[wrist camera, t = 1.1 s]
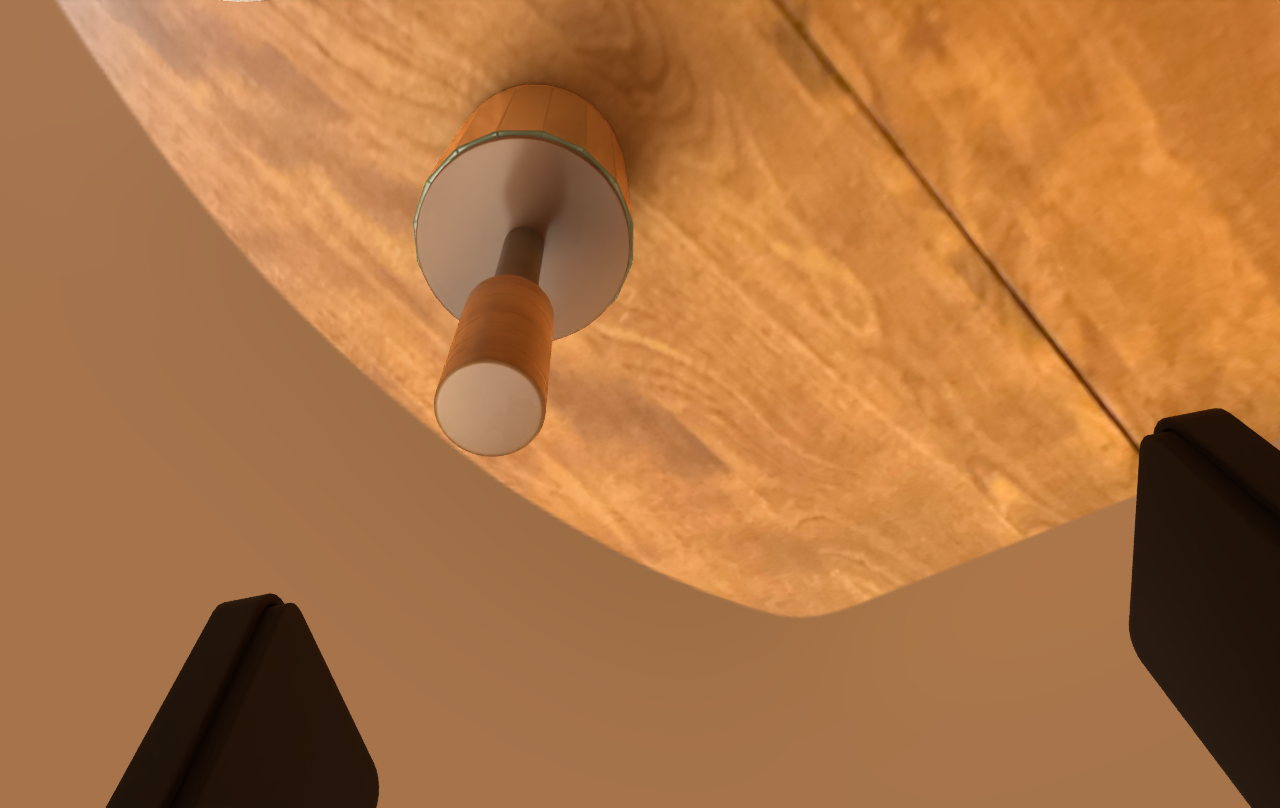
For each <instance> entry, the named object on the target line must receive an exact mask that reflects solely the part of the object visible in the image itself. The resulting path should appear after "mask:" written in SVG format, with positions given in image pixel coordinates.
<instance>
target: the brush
mask: <svg viewBox="0 0 1280 808" xmlns="http://www.w3.org/2000/svg"><path fill="white" fill-rule="evenodd" d="M416 247H417V253H418V259H419V262H420V266H421V269H422V272H423V274H424V276H425V279H426V281H427V283H428V285H429V287H430V288H431V290H432V291H433V293H434V295H435V296H436V298H437V299H438V300H439V301H440V302H441V304H442V305H443V306H444V307H445V308H446V309H447V310H448V311H449V312H450V313H451V314H452V315H453V316H454V317H455V318H457V319H458V320H459V324H458V327H457V330H456V333H455V336H454V339H453V342H452V345H451V348H450V351H449V354H448V357H447V360H446V363H445V366H444V369H443V372H442V375H441V378H440V381H439V384H438V387H437V390H436V394H435V399H434V410H435V416H436V419H437V422H438V424H439V426H440V428H441V429H442V431H443V432H444V434H445V435H446V436H447V437H448V438H449V439H450V440H451V441H452V442H453V443H454V444H456V445H457V446H458V447H460V448H462V449H464V450H465V451H468V452H470V453H473V454H477V455H481V456H492V457H494V456H503V455H508V454H511V453H514V452H516V451H518V450H520V449H522V448H524V447H525V446H527V445H528V444H529V443H530V442H531V441H532V440H533V439H534V438H535V437H536V436H537V434H538V433H539V432H540V430H541V428H542V426H543V423H544V419H545V414H546V403H547V392H548V381H549V370H550V359H551V348H552V341H553V340H557V339H560V338H563V337H566V336H569V335H571V334H573V333H575V332H577V331H579V330H581V329H582V328H584V327H586V326H587V325H589V324H590V323H591V322H593V321H594V320H595V319H596V318H597V317H599V316H600V315H601V314H602V313H603V312H604V311H605V309H606V308H607V307H608V306H609V305H610V303H611V302H612V301H613V299H614V298H615V296H616V295H617V293H618V291H619V289H620V287H621V285H622V283H623V280H624V277H625V275H626V272H627V267H628V263H629V257H630V231H629V226H628V220H627V216H626V213H625V210H624V207H623V204H622V201H621V199H620V197H619V195H618V193H617V191H616V190H615V188H614V187H613V185H612V184H611V182H610V181H609V179H608V178H607V177H606V176H605V174H604V173H603V172H602V171H601V170H600V169H599V168H598V167H597V166H596V165H595V164H594V163H593V162H592V161H590V160H589V159H588V158H587V157H585V156H584V155H582V154H581V153H579V152H578V151H576V150H574V149H572V148H570V147H568V146H566V145H564V144H562V143H559V142H557V141H554V140H551V139H547V138H542V137H538V136H530V135H508V136H501V137H496V138H491V139H488V140H485V141H482V142H480V143H477V144H475V145H473V146H471V147H469V148H467V149H465V150H464V151H462V152H461V153H459V154H458V155H456V156H455V157H454V158H452V159H451V160H450V161H449V162H448V163H447V164H446V165H445V166H444V167H443V168H442V169H441V171H440V172H439V173H438V174H437V176H436V177H435V178H434V180H433V181H432V183H431V185H430V186H429V188H428V190H427V191H426V193H425V196H424V198H423V201H422V203H421V206H420V210H419V214H418V218H417V226H416Z"/></svg>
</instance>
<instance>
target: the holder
mask: <svg viewBox="0 0 1280 808" xmlns="http://www.w3.org/2000/svg"><path fill="white" fill-rule="evenodd" d="M508 135H530V136H538V137H542V138H547V139H551V140H554V141H557V142H559V143H562V144H564V145H566V146H568V147H570V148H572V149H574V150H576V151H578V152H579V153H581V154H582V155H584V156H585V157H587V158H588V159H589V160H590V161H592V162H593V163H594V164H595V165H596V166H597V167H598V168H599V169H600V170H601V171H602V172H603V173H604V174H605V176H606V177H607V178H608V179H609V181H610V182H611V184H612V185H613V187H614V188H615V190H616V191H617V193H618V195H619V197H620V199H621V201H622V204H623V207H624V210H625V213H626V216H627V220H628V226H629V231H630V257H629V263H628V267H627V272H626V275H625V277H624V280H623V283H624V281H625V279H626V277H627V274H628V272H629V270H630V268H631V265H632V261H633V217H632V211H631V204H630V197H629V190H628V183H627V177H626V170H625V163H624V158H623V155H622V153H621V150H620V147H619V144H618V141H617V138H616V136H615V134H614V132H613V130H612V128H611V127H610V125H609V124H608V122H607V121H606V119H605V118H604V117H603V116H602V115H601V113H600V112H599V111H598V110H597V109H596V108H594V107H593V106H592V105H591V104H590V103H589V102H587V101H586V100H584V99H583V98H581V97H580V96H578V95H576V94H574V93H572V92H570V91H567V90H565V89H562V88H559V87H555V86H550V85H541V84H530V85H521V86H516V87H512V88H509V89H506V90H503V91H501V92H499V93H497V94H495V95H493V96H492V97H490V98H489V99H487V100H486V101H484V102H483V103H482V104H481V105H480V106H479V107H478V108H477V109H476V110H475V111H474V112H473V113H472V115H471V116H470V117H469V118H468V119H467V120H466V121H465V123H464V124H463V125H462V126H461V128H460V129H459V131H458V133H457V134H456V136H455V137H454V139H453V140H452V142H451V143H450V145H449V146H448V148H447V149H446V151H445V153H444V154H443V156H442V157H441V159H440V160H439V162H438V163H437V165H436V166H435V168H434V170H433V171H432V173H431V174H430V176H429V177H428V179H427V180H426V182H425V185H424V188H423V192H422V195H421V198H420V201H419V204H418V207H417V210H416V213H415V216H414V221H413V225H414V235H415V245H416V226H417V218H418V214H419V210H420V206H421V203H422V201H423V198H424V196H425V193H426V191H427V190H428V188H429V186H430V185H431V183H432V181H433V180H434V178H435V177H436V176H437V174H438V173H439V172H440V171H441V169H442V168H443V167H444V166H445V165H446V164H447V163H448V162H449V161H450V160H451V159H452V158H454V157H455V156H456V155H458V154H459V153H461V152H462V151H464V150H465V149H467V148H469V147H471V146H473V145H475V144H477V143H480V142H482V141H485V140H488V139H491V138H496V137H501V136H508ZM416 255H417V262H418V264H419V266H420V262H419V259H418V253H417V247H416ZM420 268H421V266H420ZM421 270H422V269H421ZM623 283H622V285H621V287H620V289H619V291H618V293H617V295H616V296H615V298H617V297H618V295H619V292H620V290H621V288H622V286H623ZM615 298H614V299H613V301H612V302H611V303H610V305H611V304H612V303H613V302H614V301H615ZM584 328H585V327H584Z"/></svg>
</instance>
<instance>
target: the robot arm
mask: <svg viewBox="0 0 1280 808" xmlns="http://www.w3.org/2000/svg"><path fill="white" fill-rule="evenodd" d="M1129 632H1130V637H1131V641H1132V644H1133V647H1134V649H1135V651H1136V653H1137V655H1138V657H1139V659H1140V660H1141V662H1142V663H1143V664H1144V666H1145V667H1146V668H1147V670H1148V671H1149V672H1150V674H1151V675H1152V676H1153V678H1154V679H1155V680H1156V682H1157V683H1158V684H1159V686H1160V687H1161V688H1162V690H1163V691H1164V692H1165V694H1166V695H1167V696H1168V698H1169V699H1170V700H1171V702H1172V703H1173V704H1174V706H1175V707H1176V708H1177V710H1178V711H1179V712H1180V713H1181V715H1182V716H1183V718H1185V720H1186V721H1187V723H1188V724H1189V725H1190V727H1191V728H1192V729H1193V731H1194V732H1195V733H1196V735H1197V736H1198V737H1199V739H1200V740H1201V741H1202V743H1203V744H1204V745H1205V746H1206V748H1207V749H1208V751H1209V752H1210V753H1211V755H1212V756H1213V757H1214V759H1215V760H1216V761H1217V763H1218V764H1219V765H1220V767H1221V768H1222V769H1223V770H1224V772H1225V773H1226V774H1227V776H1228V777H1229V778H1230V780H1231V781H1232V783H1233V784H1234V785H1235V786H1236V788H1237V789H1238V790H1239V792H1240V793H1241V794H1242V796H1243V797H1244V798H1245V800H1246V801H1247V802H1248V804H1249V805H1250V806H1251V808H1280V451H1279V450H1278V449H1277V448H1275V447H1274V446H1273V445H1271V444H1270V443H1269V442H1268V441H1266V440H1265V439H1264V438H1262V437H1261V436H1260V435H1258V434H1257V433H1256V432H1254V431H1253V430H1252V429H1250V428H1249V427H1248V426H1246V425H1245V424H1244V423H1242V422H1241V421H1240V420H1238V419H1237V418H1236V417H1234V416H1233V415H1232V414H1231V413H1229V412H1227V411H1225V410H1223V409H1218V408H1214V409H1209V410H1203V411H1198V412H1193V413H1188V414H1183V415H1178V416H1173V417H1168V418H1163V419H1162V420H1160V421H1159V422H1158V423H1157V425H1156V427H1155V429H1154V434H1152V435H1147V436H1146V437H1144V438H1143V440H1142V442H1141V445H1140V453H1139V469H1138V485H1137V501H1136V518H1135V535H1134V550H1133V567H1132V583H1131V600H1130V615H1129ZM378 796H379V781H378V775H377V770H376V768H375V765H374V762H373V760H372V758H371V756H370V754H369V752H368V750H367V748H366V746H365V744H364V742H363V740H362V737H361V735H360V733H359V731H358V729H357V727H356V725H355V723H354V721H353V719H352V717H351V715H350V713H349V710H348V708H347V706H346V704H345V702H344V700H343V698H342V696H341V694H340V692H339V690H338V687H337V686H336V683H335V681H334V679H333V677H332V675H331V673H330V671H329V669H328V667H327V665H326V662H325V660H324V658H323V656H322V654H321V652H320V650H319V648H318V646H317V644H316V642H315V640H314V638H313V635H312V633H311V631H310V629H309V627H308V625H307V623H306V621H305V619H304V617H303V615H302V613H301V611H300V609H299V608H298V607H297V606H296V605H295V604H293V603H287V604H284V603H283V601H282V600H281V599H280V598H279V597H278V596H277V595H275V594H265V595H260V596H255V597H249V598H244V599H239V600H234V601H229V602H224V603H222V604H220V605H218V606H217V607H216V609H215V610H214V611H213V613H212V615H211V616H210V618H209V620H208V622H207V624H206V626H205V627H204V629H203V631H202V633H201V635H200V637H199V638H198V640H197V642H196V644H195V646H194V647H193V649H192V651H191V653H190V655H189V657H188V658H187V660H186V662H185V664H184V666H183V668H182V670H181V671H180V673H179V675H178V677H177V679H176V681H175V682H174V684H173V686H172V688H171V690H170V692H169V693H168V695H167V697H166V699H165V701H164V702H163V704H162V706H161V708H160V710H159V711H158V713H157V715H156V717H155V719H154V721H153V722H152V724H151V726H150V728H149V730H148V731H147V733H146V735H145V737H144V739H143V741H142V743H141V744H140V746H139V748H138V750H137V752H136V753H135V755H134V757H133V759H132V761H131V763H130V764H129V766H128V768H127V770H126V772H125V773H124V775H123V777H122V779H121V781H120V782H119V785H118V786H117V788H116V790H115V792H114V793H113V795H112V797H111V799H110V801H109V803H108V805H107V806H106V808H376V806H377V802H378Z"/></svg>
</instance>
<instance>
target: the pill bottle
mask: <svg viewBox="0 0 1280 808" xmlns="http://www.w3.org/2000/svg"><path fill="white" fill-rule="evenodd" d="M224 1H236V2H254V1H265V0H224Z"/></svg>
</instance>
